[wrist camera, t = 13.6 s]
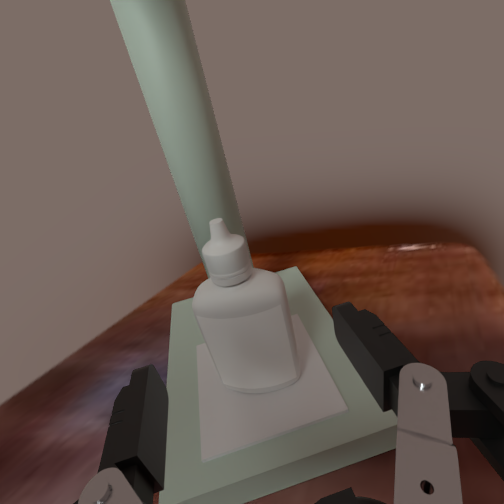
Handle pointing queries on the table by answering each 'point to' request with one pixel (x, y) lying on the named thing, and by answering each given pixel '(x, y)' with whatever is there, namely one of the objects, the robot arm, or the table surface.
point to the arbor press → (187, 330)
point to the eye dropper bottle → (245, 318)
